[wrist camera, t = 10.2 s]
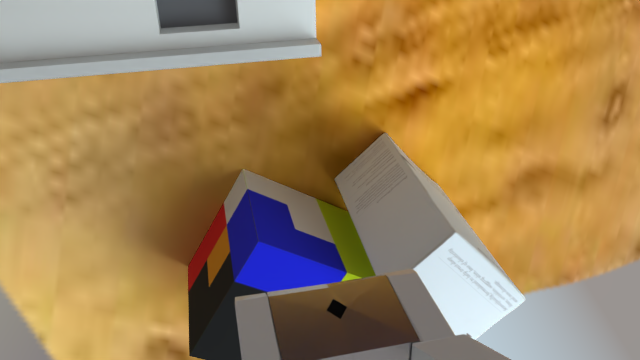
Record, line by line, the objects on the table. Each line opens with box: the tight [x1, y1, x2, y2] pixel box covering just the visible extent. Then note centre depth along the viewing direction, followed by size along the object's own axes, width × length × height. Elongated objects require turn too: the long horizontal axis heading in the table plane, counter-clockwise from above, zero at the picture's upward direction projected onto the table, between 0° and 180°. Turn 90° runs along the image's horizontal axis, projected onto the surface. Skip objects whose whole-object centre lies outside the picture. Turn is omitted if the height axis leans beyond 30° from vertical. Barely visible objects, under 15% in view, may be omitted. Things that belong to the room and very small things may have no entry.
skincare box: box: [334, 133, 526, 340], centre depth 39 cm, size 8×6×15 cm
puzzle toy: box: [188, 169, 376, 360], centre depth 42 cm, size 10×10×10 cm
